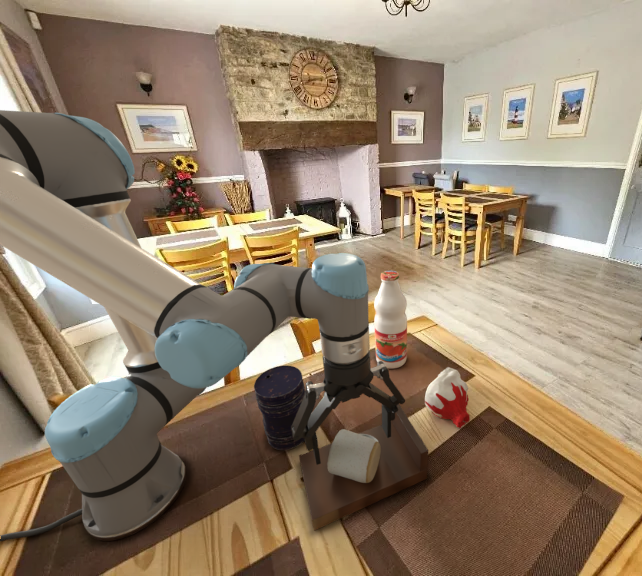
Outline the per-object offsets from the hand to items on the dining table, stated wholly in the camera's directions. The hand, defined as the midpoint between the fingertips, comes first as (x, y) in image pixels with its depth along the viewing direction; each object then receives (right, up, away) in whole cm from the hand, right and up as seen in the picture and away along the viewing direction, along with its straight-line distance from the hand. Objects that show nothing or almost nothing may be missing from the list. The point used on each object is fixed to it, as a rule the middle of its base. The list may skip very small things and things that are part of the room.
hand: (353, 444), depth 58 cm
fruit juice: (+8, +7, +36) cm, 38 cm away
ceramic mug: (+1, -5, +2) cm, 5 cm away
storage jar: (-16, -4, +13) cm, 21 cm away
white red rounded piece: (+21, -1, +17) cm, 27 cm away
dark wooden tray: (+1, -7, +4) cm, 8 cm away
